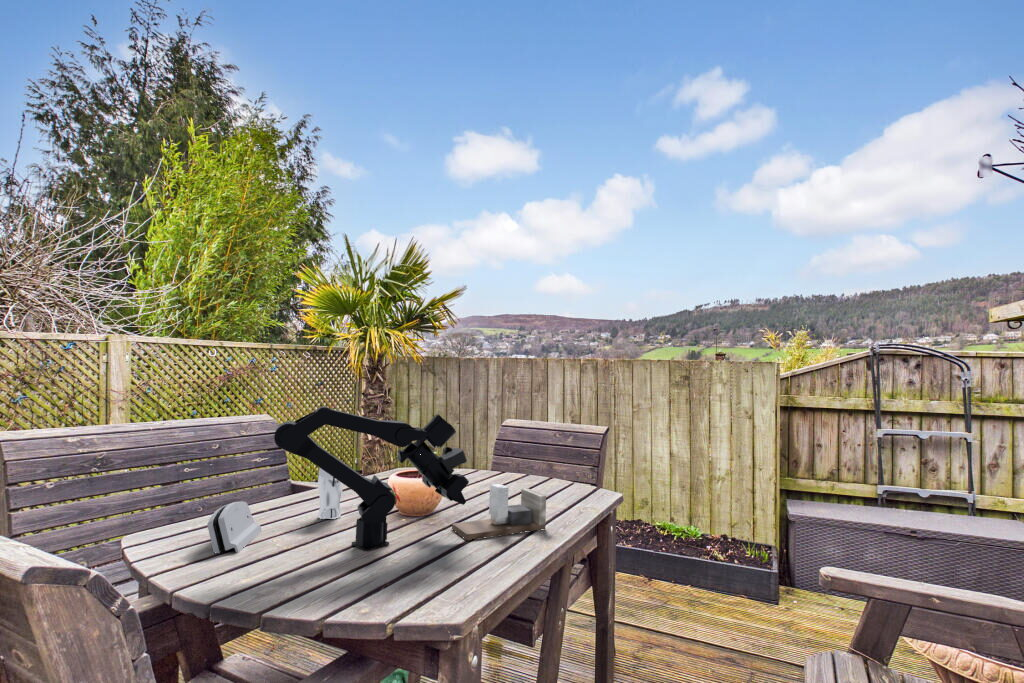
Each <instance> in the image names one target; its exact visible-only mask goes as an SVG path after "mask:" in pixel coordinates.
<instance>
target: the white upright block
mask: <svg viewBox="0 0 1024 683" xmlns="http://www.w3.org/2000/svg"><path fill="white" fill-rule="evenodd" d="M342 462H343V463H345V462H344V461H342ZM318 468H319V470H318V476H317V487H318V495H319V509H318V513H317V519H318V518H320V519H319V520H321V519H334V520H337V519H336V518H338V519H339V517H340V516H341V499H342V494H343V490H344V484H343V483H341V482H340V481H338V480H337V479H336V478H334V477H333V476H331V475H330V474H328V473H327V472H325V471H324V470H322V469H321V468H320V467H318ZM341 517H342V516H341ZM341 517H340V518H341Z"/></svg>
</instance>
